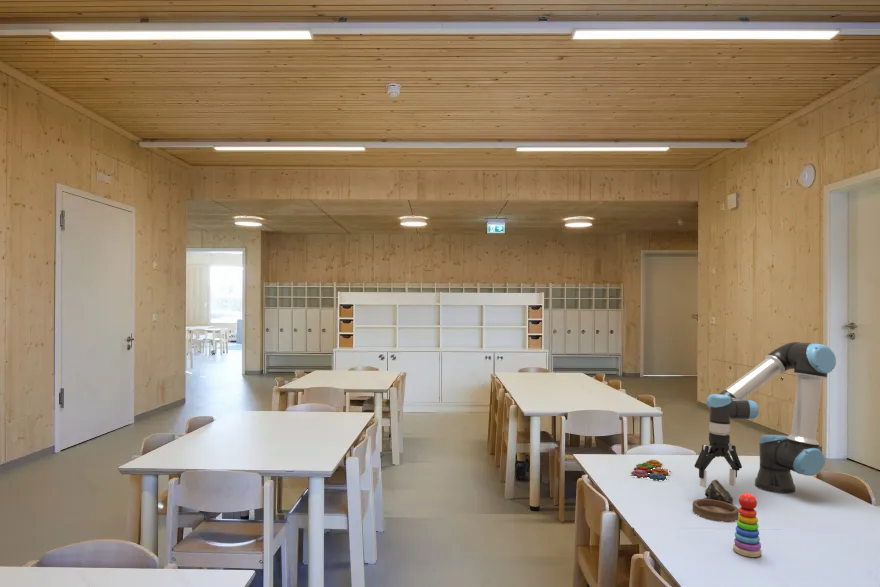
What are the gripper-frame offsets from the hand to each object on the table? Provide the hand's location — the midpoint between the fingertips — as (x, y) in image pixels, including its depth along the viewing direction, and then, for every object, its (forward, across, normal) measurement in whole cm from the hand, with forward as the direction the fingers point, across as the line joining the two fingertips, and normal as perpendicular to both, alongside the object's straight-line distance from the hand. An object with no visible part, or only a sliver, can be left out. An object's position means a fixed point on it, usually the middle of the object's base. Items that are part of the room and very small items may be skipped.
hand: (717, 486), depth 226 cm
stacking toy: (+7, +24, +44) cm, 51 cm away
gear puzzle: (+7, +1, -42) cm, 43 cm away
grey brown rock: (+7, -1, 0) cm, 7 cm away
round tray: (+6, +11, +12) cm, 18 cm away
